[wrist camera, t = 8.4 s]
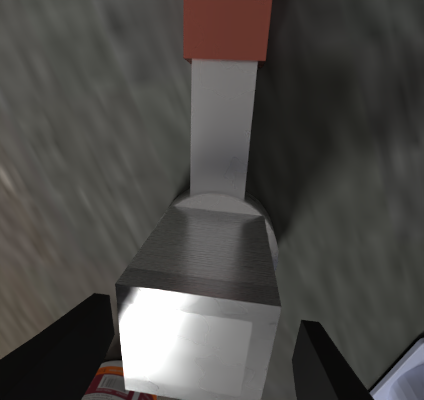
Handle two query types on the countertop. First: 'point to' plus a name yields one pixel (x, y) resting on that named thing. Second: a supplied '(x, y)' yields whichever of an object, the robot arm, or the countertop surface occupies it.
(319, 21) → the countertop surface
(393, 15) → the countertop surface
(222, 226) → the grey block
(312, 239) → the countertop surface
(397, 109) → the countertop surface
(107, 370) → the pill bottle
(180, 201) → the ratchet
